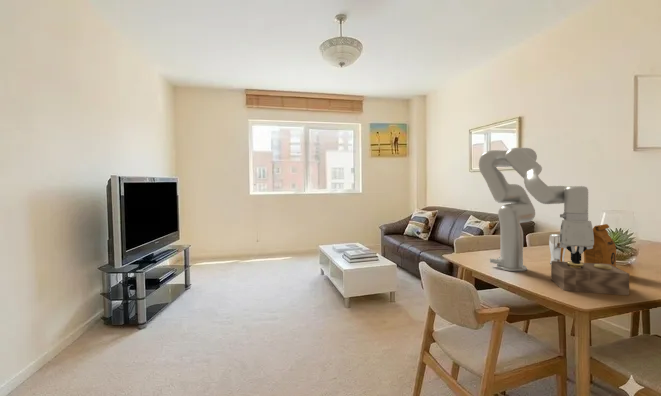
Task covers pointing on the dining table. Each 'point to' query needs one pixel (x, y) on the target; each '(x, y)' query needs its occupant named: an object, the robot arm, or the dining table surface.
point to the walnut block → (590, 278)
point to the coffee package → (601, 247)
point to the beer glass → (556, 248)
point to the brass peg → (574, 264)
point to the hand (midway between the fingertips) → (575, 262)
